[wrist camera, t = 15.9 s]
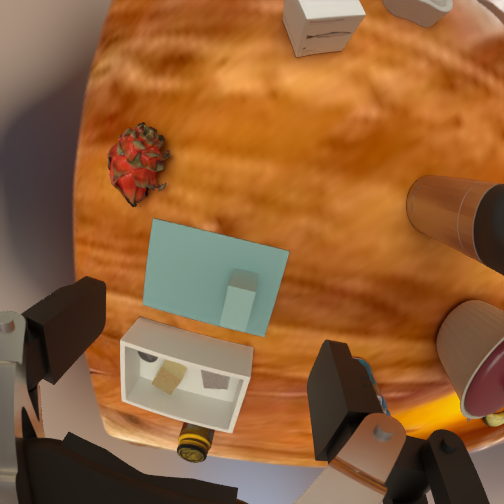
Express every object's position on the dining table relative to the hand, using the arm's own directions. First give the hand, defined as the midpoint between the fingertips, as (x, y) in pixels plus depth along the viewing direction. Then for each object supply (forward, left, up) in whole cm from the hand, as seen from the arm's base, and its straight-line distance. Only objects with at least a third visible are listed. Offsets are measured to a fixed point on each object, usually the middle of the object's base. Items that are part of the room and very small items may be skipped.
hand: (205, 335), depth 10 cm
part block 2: (0, +27, -32) cm, 42 cm away
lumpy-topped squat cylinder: (-16, -45, -33) cm, 58 cm away
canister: (-43, +11, -33) cm, 55 cm away
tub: (+5, +29, -33) cm, 44 cm away
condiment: (0, +41, -33) cm, 53 cm away
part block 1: (+8, +31, -32) cm, 45 cm away
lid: (+4, +12, -34) cm, 36 cm away
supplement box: (-2, -28, -33) cm, 44 cm away
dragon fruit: (+17, -3, -33) cm, 38 cm away
